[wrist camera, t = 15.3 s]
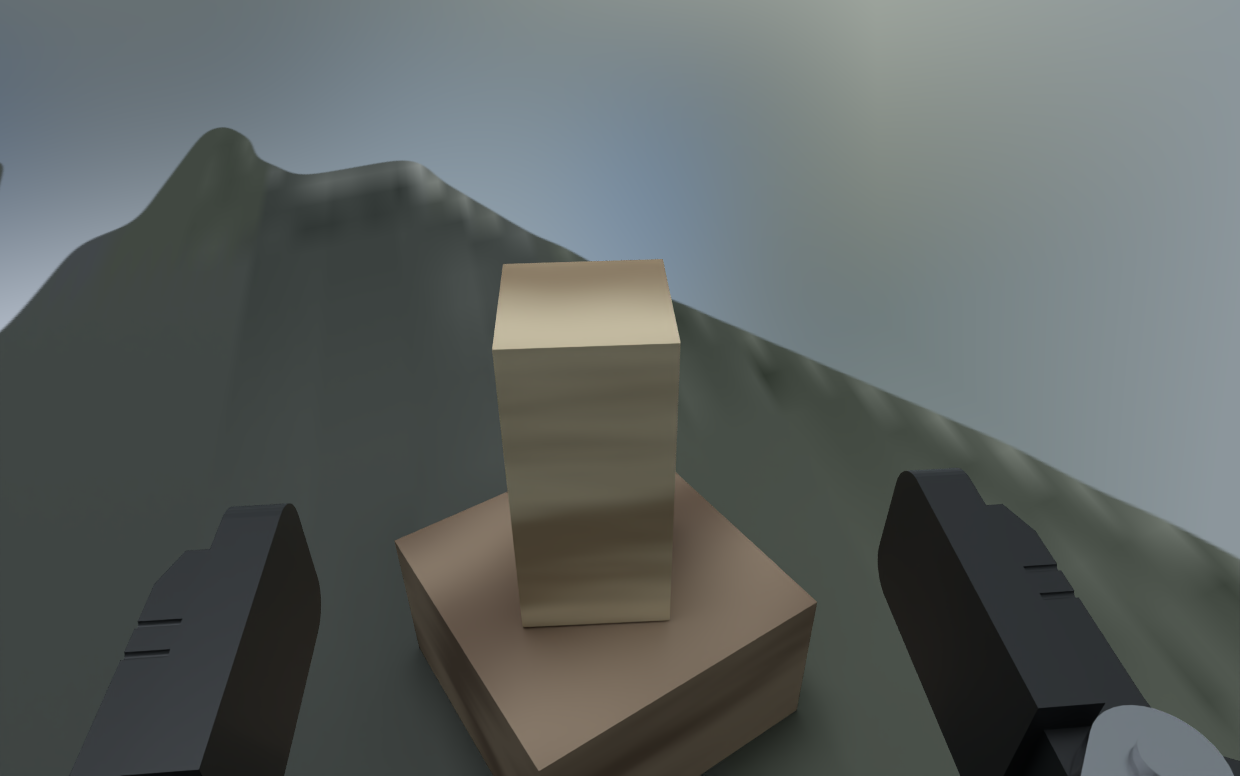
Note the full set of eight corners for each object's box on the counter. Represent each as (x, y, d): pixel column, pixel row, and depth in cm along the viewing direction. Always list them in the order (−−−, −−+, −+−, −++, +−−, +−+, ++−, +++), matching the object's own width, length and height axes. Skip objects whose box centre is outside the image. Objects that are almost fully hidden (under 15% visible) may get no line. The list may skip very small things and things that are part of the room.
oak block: (669, 620, 26) (680, 343, 21) (522, 627, 26) (492, 349, 20) (656, 518, 30) (662, 259, 24) (527, 523, 30) (503, 264, 24)
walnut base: (795, 714, 30) (817, 602, 27) (551, 879, 26) (538, 771, 22) (635, 543, 37) (636, 436, 34) (420, 651, 33) (394, 540, 29)
